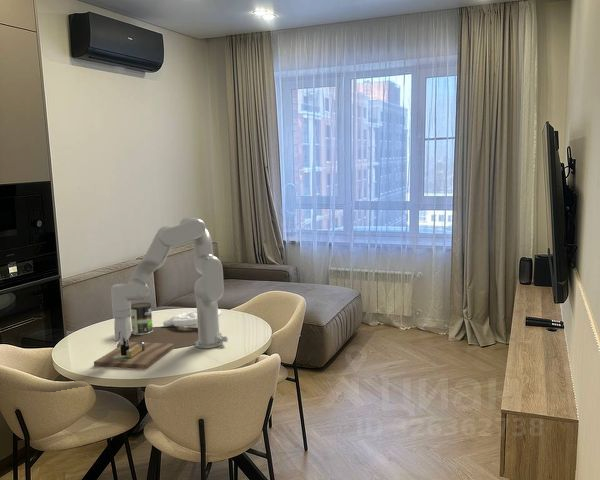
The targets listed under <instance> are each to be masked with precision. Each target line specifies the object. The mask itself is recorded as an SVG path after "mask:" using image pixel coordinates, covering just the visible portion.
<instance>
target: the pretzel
mask: <svg viewBox="0 0 600 480" xmlns="http://www.w3.org/2000/svg"><path fill="white" fill-rule="evenodd" d="M221 315H222V311H221V310H220V309H218V318H219V317H220V316H221ZM162 325H163V326H164V327H170V326H176V327H184V326H185V327H188V326H193V325H198V320H197V309H196V310H191V311H186V312H181V313H180V314H176V315H173V316H172V317H170V318H168V319H167V318H166V319H165V320H164V321H163V323H162Z"/></svg>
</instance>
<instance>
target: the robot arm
mask: <svg viewBox="0 0 600 480" xmlns="http://www.w3.org/2000/svg"><path fill="white" fill-rule="evenodd" d="M190 242H192V245H193V246H192V247H193V258H194V267H195V268H194V269H195V271H196V272H197V273H198V274H201V275H202V276H201V277H199V278H197V280H196V281H195V282H194V286H193V291H194V297H195V301H196V302H195V303H196V310H197V320H198V324H197V333H198V334H197V335H198V340H197V341H195V347H197V348H199V349H213V348H218V347H220V346H222V345H223V344H224V343H227V342H228V341H229V339H228V338H229V337H228V336H227V335H226V336H223V335H222V332H220V325H219V317H218V310H219V305H218V301H219V300H221V298H222V297H223V295H224V291H225V284H224V282H225V281H224V270H223V264H222V261H221V260H220V259H219V258H218V257H217V256H215V255H214V246H213V240H212V236H211V234H210V232H209V230H208V229H207V226H206V224H205V222H204V221H203V220H202V219H200V218H198V217H193V216H185V217H183V218H182V219H181V220H180V222H179V224H178V225H175V226H168V225H167V226H162V227H160V228H159V229H158V230H157V232H156V234H155V235H154V237H153V239H152V240H151V243H150V245H149V248H148V250H147V251H146V253H145V255H144V257H142V259H141V260H140V261H139V263H138V264H137V266H136V267H135V268H134V270H133V272H132V273H131V276H130V278H129V280H128V282H127V283H117V284H112V286H111V287H110V295H111V307H112V318H113V319H114V323H113V324H114V342H115V343H116V342H118V341H119V346H120V347H121V356H126V355H127V352H126V351H127V350H128V349H129V342H130V339H129V338H130V337H131V335H132V324H131V316H132V312H131V305H132V301H143V300H145V299H147V298H149V296H150V293H151V289H150V286H149V285H148V284H147V282H148V280H149V279H150V277H151V275H152V274H153V273H154V272H155V271H156V270H158V269H160V268H161V267H162V266H163V265H164V264H165V262H166V260H167V258H168V256H169V254H170V252H171V250H172V248H176V247H180V246H182V245H185V244H188V243H190Z"/></svg>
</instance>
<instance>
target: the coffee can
mask: <svg viewBox="0 0 600 480" xmlns="http://www.w3.org/2000/svg"><path fill="white" fill-rule="evenodd" d="M131 312H132V316H131V317H130V323H131V335H132V334H133V335H135V336H143V335H149V334H151V333H153V332H154V327H153V318H152V317H153V315H152V313H153V312H152V303H150V302H137V303H131Z"/></svg>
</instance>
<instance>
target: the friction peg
mask: <svg viewBox="0 0 600 480" xmlns="http://www.w3.org/2000/svg"><path fill="white" fill-rule="evenodd" d="M137 342H138V343H137V345H135V346H133V347H132V348H130V349H128V350H127V351H126V352H127V357H128V358H131V357H133V356H134V355H136V354H137V353H139V352H140V351H143V350H145V343H146V342H145V341H137Z"/></svg>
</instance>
